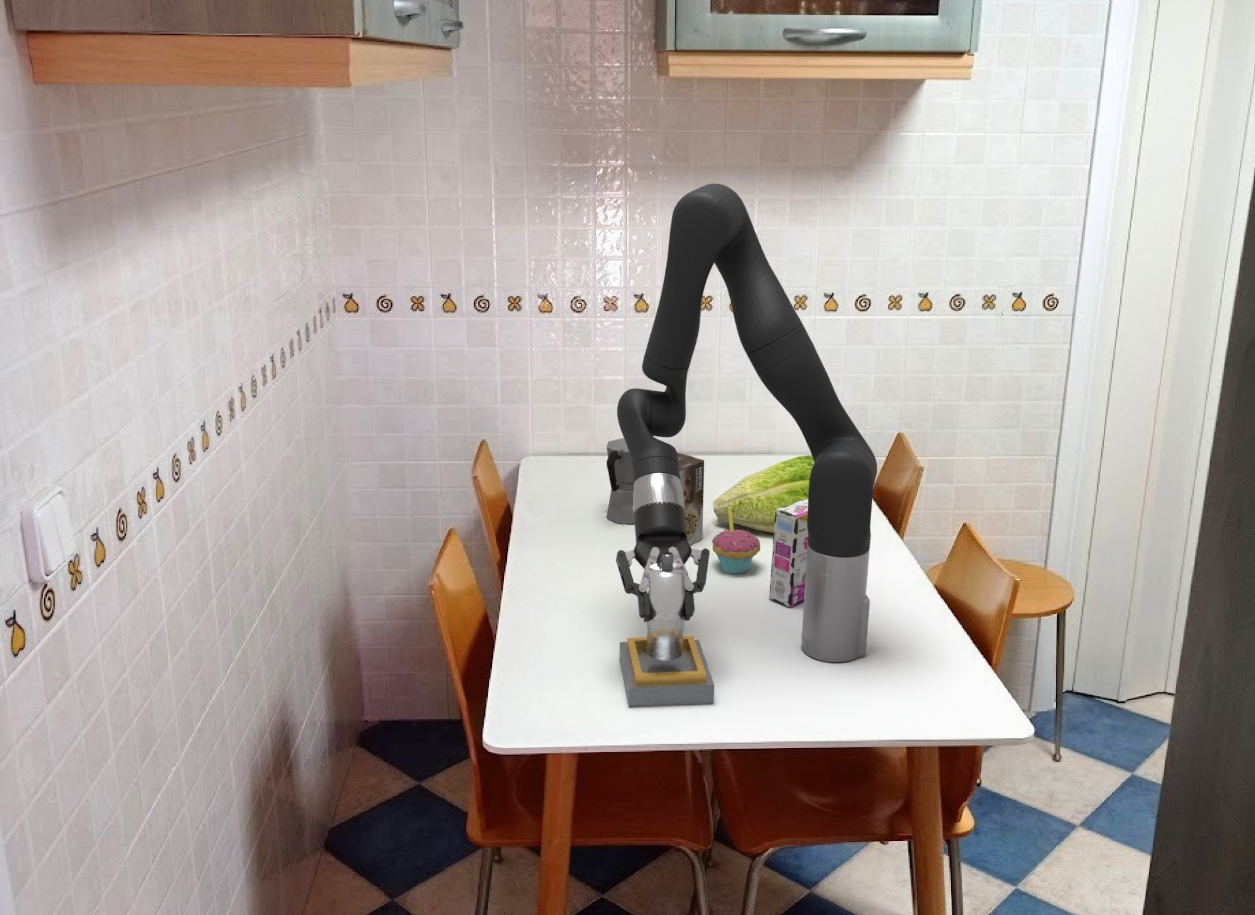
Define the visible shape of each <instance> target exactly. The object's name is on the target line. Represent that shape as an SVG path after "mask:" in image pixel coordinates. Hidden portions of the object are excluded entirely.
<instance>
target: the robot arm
mask: <svg viewBox="0 0 1255 915" xmlns="http://www.w3.org/2000/svg"><path fill="white" fill-rule="evenodd" d="M714 265H715V267H716V268H717V270H718V272H719V274H720V276H721V278H722V279H723V282H724V285H725V286H726V289H727V292H728V295H729V299H730V304H731V305H730V306H731V309H732V310H731V311H732V315H733V319H734V322H735V323H734V324H735V328H736V332H737V335H738V338H739V342H740V343H741V346H742V349H743V350H744V352H745V354H746V356H747V358H748V360H749V362H750V363H751V365H752V368H753V369H754V371H755V373H756V374H757V377H758V378H759V379H760V381H761V382H762V384H763V386H764V387H765V388H766V389H767V391H768V392H769V393H770V394H771V395H772V396H773V398H775V400H777V402H778V403H779V404H780V405H781V406H782V407H783V408H784V409H785V410H786V411H787V412H788V413H789V415H790V416H791V418H792V419H793V420H794V421H795V423H796V424H797V426H798V428H799V430H800V432H801V433H802V436H803V438H804V440H805V443H806V444H807V446H808V450H809V451H810V455H812V457H813V460H814V465H813V467H812V470H811V473H810V480H809V494H808V516H807V530H808V547H807V563H806V578H805V594H804V601H803V612H802V627H801V641H800V644H801V645H800V647H801V650H802V652H804V653H805V654H806V656H809V657H811V658H813V659H816V660H817V661H818V660H819V661H822V662H827V663H828V662H829V663H844V662H850V661H853V660H855V659H857V658H860V657H861V658H862V657H863V658H864V657H866V652H867V640H868V628H869V617H870V604H871V603H870V602H871V601H870V600H871V599H870V598H869V597H868V595H867V587H868V586H867V585H868V574H869V563H870V562H869V561H870V550H871V538H872V534H871V533H872V532H871V523H872V522H871V520H872V510H873V509H872V508H873V498H874V497H873V496H874V487H875V482H876V478H877V475H878V464H877V459H876V457H875V454H874V452H873V450H872V449H871V447H870V445H869V444H868V442H867V441H866V440H865V438H864V437H863V435H862V434H861V432H860V430H859V429H858V428H857V426H856V425H855V423H854V422H853V420H852V419H851V417H850V416H849V414H848V413H847V411H846V409H845V408H844V406H843V405H842V403H841V401H840V399H839V397H838V395H837V393H836V391H835V388H834V386H833V384H832V381H831V379H830V376H829V375H828V372H827V370H826V368H825V365H824V364H823V362H822V359H821V358H820V356H819V353H818V351H817V349H816V347H815V344H814V342H813V341H812V339H811V337H810V335H809V333H808V331H807V330H806V328H805V325H804V323H802V320H801V318H800V317H799V315H798V313H797V312H796V310H795V308H794V306H793V304H792V302H791V301H790V299H789V297H788V295H787V293H786V291H785V289H784V287H783V285H782V284H781V282H780V280H779V278H778V277H777V275H776V274H775V271H774V270H773V268H772V266H771V265H770V263H769V261H768V258H767V256H766V255H765V252H764V250H763V248H762V245H761V243H760V240H759V237H758V235H757V232H756V230H755V227H754V225H753V222H752V219H751V217H750V214H749V213H748V210H747V208H746V205H745V203H744V201H743V200H742V198H741V197H740V196H739V194H738V193H737V192H736V191H735V190H733V189H732V188H731V187H729V186H727V185H725V184H722V183H709V184H705V185H703V186H700V187H698V188H696V189H694V190H691V191H689V192H687V193H686V194H685V195H683V196H682V197H681V198H680V199H679V200H678V202H677V203H676V205H675V206H674V208H673V210H672V215H671V221H670V227H669V238H668V248H667V258H666V265H665V272H664V277H663V281H662V287H661V293H660V296H659V301H658V305H657V308H656V309H657V310H656V313H655V316H654V320H653V324H652V327H651V331H650V335H649V337H648V341H647V345H646V349H645V351H644V355H643V359H642V362H641V370H642V373H643V374H644V376H646V378H648V379H649V380H652V381H654V382H655V383H658V384H660V385H663V386H665V390H664V391H661V390H653V389H645V388H638V387H637V388H634V387H633V388H629V389H627V390H625V391H624V392H623V393H622V395H621V396H620V398H619V400H618V403H617V407H616V415H617V420H618V421H617V422H618V425H619V428H620V431H621V434H622V438H624V439H625V442H626V444H627V447H628V450H629V453H630V456H631V459H632V466H633V480H634V492H633V512H634V520H635V524H634V533H635V546H634V548H633V549H631V550H628V551H624V550H623V549H621V550H620V549H619V550H618V551H617V552H616V557H615V558H616V559H615V562H616V565H617V569H618V572H619V575H620V580H621V582H622V583H621V584H622V585H623V590H624V592H625V594H628V595H630V594H631V595H635V596H636V597H637V604H638V615H639V618H640V619H643V621H644V623H647V622H649V621H650V604H649V594H648V581H649V567H650V566H652V565H654V564H657V563H662V553H664V552H671V553H673V563H675V564H679V565H681V566H683V567H684V568H685V570H686V571H685V597H684V622H688V621H690V620H691V618H692V617H693V616H694V613H695V611H696V610H695V608H696V607H695V597H694V594H696V593H701V592H703V590H704V588H705V586H706V583H707V575H708V568H709V561H710V554H711V552H710V550H709V549H708V548H705V547H704V548H702V550H701V549H695V548H692V546H691V545H689V543H688V541H687V533H686V521H685V510H684V499H683V491H682V487H681V483H680V472H679V461H678V454H677V453H678V451H677V449H676V447H674V446H673V445H672V444H670V443H667V442H665V441H664V440H661V439H659V437H660V438H673V437H675V436H677V435H678V434H679V433H680V432H681V431H682V429H683V428H684V426H685V423H686V419H687V418H686V417H687V403H686V402H687V400H686V399H687V398H686V397H687V396H686V394H687V393H686V392H687V380H688V372H689V368H690V366H691V362H692V359H693V356H694V352H695V349H696V345H697V342H698V337H699V332H700V328H701V327H700V326H701V313H702V305H703V304H702V301H703V296H704V293H705V292H704V291H705V287H706V284H707V281H708V278H709V275H710V274H711V270H712V268H713V266H714ZM656 437H658V438H656ZM690 558H692V559H693V564H694V565H695V566H697V571H696V578H695V581H692V580H691V578H690V575H689V572H688V569H687V568H686V566H685V564H687V561H688V560H689V559H690ZM633 559H635V561H636V562H637V563H638V564H639V565H640V566H641V567H642V569H643V570H644V571H643V574H642V576H641V579H640V583H636V582H634V578H633V574H632V571H631V566H632V564H633Z"/></svg>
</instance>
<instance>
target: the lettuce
mask: <svg viewBox="0 0 1255 915" xmlns="http://www.w3.org/2000/svg"><path fill="white" fill-rule="evenodd" d="M813 465H814V460H813V457H812V454H807V455H801V456H800V455H799V456H797V457H792V458H790V459H786V460H783V461H780V462H778V463H776V464H774V465H773V464H772V466H769V467H767V468H765V469H763V470H761V471H758V472H755V473H752V474H750V475H747V476H745V477H743V478H742V479H741V480H739V481H738V482H737V483H735V484H733V485H732V486H731V487H730V488H728V489H727V490H726V491H724V492H723V493H722V494H721V495H719V496H718V497H717V498H716V499H714V500H713V502H712V507H713V512H714V514H715V516H716V518H717V520H718V521H720V522H725V523H729V514H728V507H729V504H728V503H730V507H732V518H733V524H737V525H739V526H743V527H744V528H745V527H746V528H749V529H753V530H755V531H760V532H764V533H769V534H774V523H775V510H776V509H779V508H782V507H784V506H787V505H790V504H793V503H796V502H799V501H801V500H804V499H807V498H808V494H809V480H810V473H811V470H812V467H813Z"/></svg>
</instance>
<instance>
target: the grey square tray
mask: <svg viewBox="0 0 1255 915" xmlns="http://www.w3.org/2000/svg"><path fill="white" fill-rule="evenodd" d="M618 658H619V665H620V670H621V674H622V679H623V686H624V690H625V694H626V700H627V704H628V708H643V707H645V708H646V707H665V706H692V705H693V706H694V705H714V702H715V701H714V700H715V698H714V695H715V683H714V680H713V678H712V675H711V672H710V668H709V666H708V663H707V660H706V657H705V654H704V652H703V648H702V646H701V643H700V639H695V636H694V635H683V652H682V655H681V656H680V657H679V658H677V659H674V660H669V661H662V660H657V659H654V658H651V657H650V656H649V655H648V654H647V636H644V637H643V636H642V637H641V636H640V637H639V636H638V637H627V638H626V641H622V642H621V641H620V642H619V656H618Z"/></svg>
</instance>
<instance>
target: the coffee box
mask: <svg viewBox="0 0 1255 915" xmlns="http://www.w3.org/2000/svg"><path fill="white" fill-rule="evenodd" d="M677 454H678V461H679V472H680V483H681V487H682V491H683V499H684V510H685V521H686V533H687V541H688V543H689V545H690V546H691V545H693V544H695V543H697V542H699V541H701V540H703V530H704V529H703V528H704V524H703V523H704V493H705V492H704V487H705V486H704V485H705V483H704V482H705V459H701V458H698V457H695V456H692V455H688V454H684V453H681V452H677Z"/></svg>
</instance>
